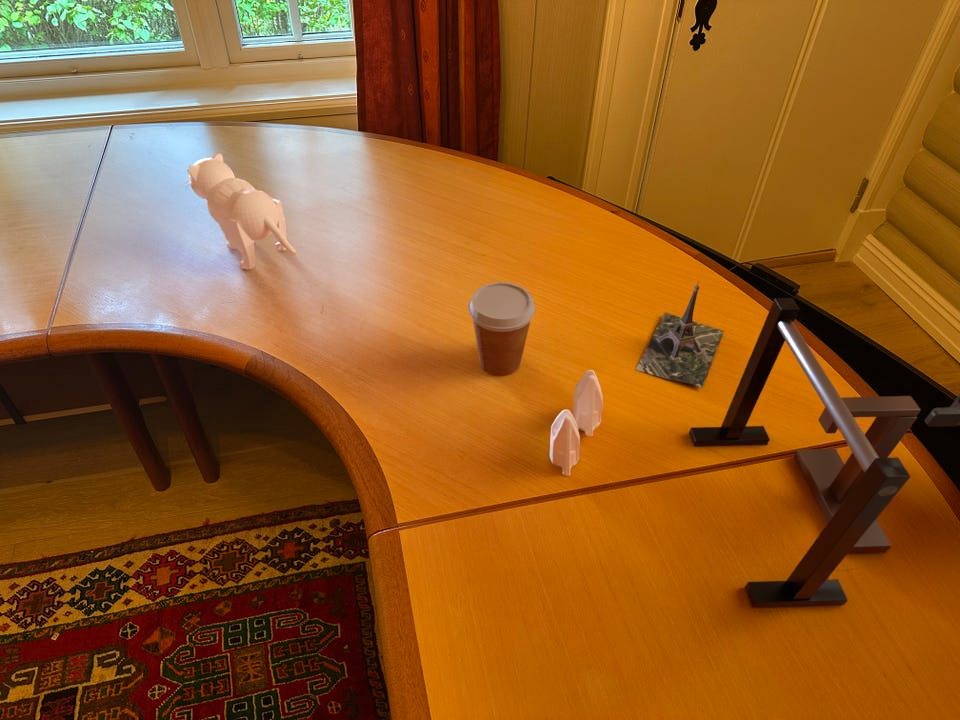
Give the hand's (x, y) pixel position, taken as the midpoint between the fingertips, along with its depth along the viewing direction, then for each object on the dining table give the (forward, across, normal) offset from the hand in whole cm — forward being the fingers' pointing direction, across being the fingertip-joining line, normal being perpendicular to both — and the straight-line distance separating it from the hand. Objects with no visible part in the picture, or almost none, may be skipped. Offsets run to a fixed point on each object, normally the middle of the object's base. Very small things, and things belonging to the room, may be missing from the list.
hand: (950, 447), depth 68 cm
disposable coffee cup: (+49, -26, +11) cm, 57 cm away
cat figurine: (+94, -58, +11) cm, 111 cm away
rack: (+19, +1, +10) cm, 22 cm away
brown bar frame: (+11, 0, +11) cm, 15 cm away
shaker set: (+40, -11, +11) cm, 42 cm away
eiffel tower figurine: (+20, -28, +11) cm, 36 cm away
